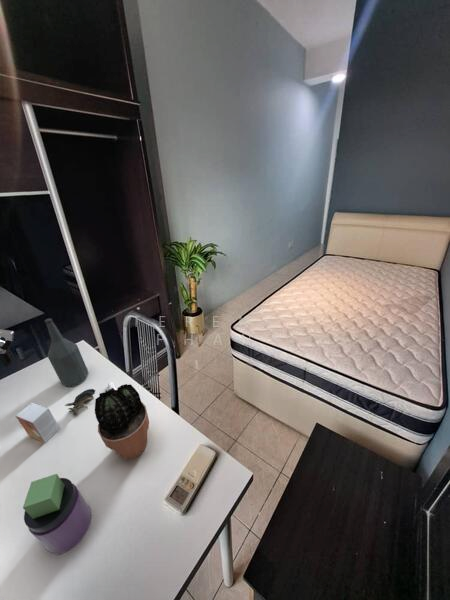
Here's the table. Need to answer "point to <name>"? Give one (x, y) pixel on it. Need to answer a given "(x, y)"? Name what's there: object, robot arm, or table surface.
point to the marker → (111, 386)
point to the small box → (38, 422)
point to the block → (44, 496)
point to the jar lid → (56, 517)
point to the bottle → (65, 358)
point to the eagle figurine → (81, 400)
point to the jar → (67, 528)
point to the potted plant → (122, 421)
